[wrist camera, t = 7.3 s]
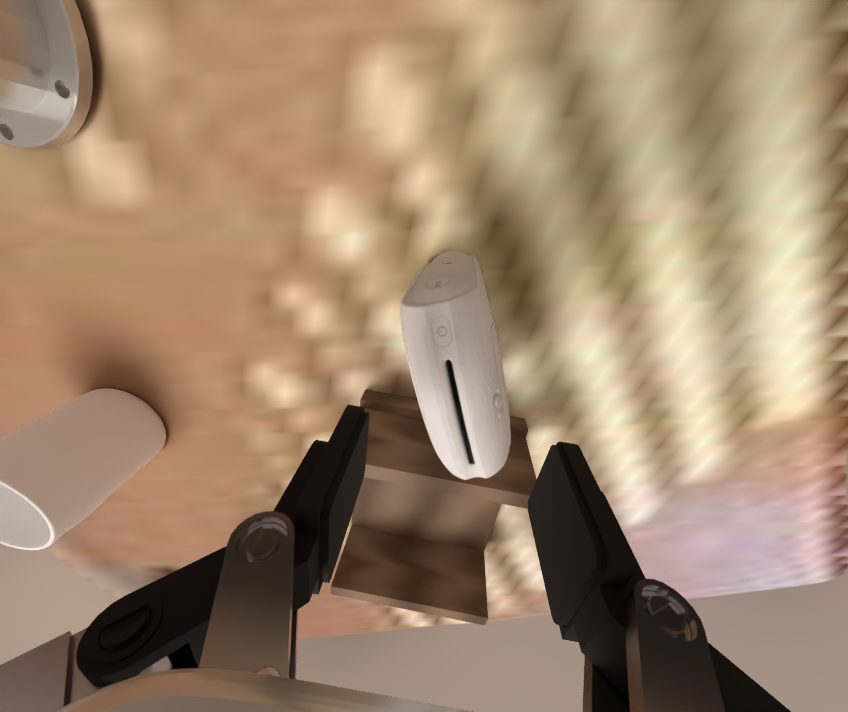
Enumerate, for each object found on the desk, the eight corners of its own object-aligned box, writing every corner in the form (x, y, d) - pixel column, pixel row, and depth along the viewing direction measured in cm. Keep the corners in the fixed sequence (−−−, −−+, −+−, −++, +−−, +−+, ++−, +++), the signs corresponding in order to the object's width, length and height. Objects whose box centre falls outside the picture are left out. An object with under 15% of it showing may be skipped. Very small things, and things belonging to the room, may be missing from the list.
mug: (98, 461, 36) (-33, 555, 27) (80, 373, 31) (-91, 451, 21) (173, 484, 37) (71, 585, 27) (168, 401, 31) (39, 490, 22)
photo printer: (417, 256, 23) (374, 310, 12) (478, 242, 22) (493, 286, 11) (446, 380, 27) (435, 506, 16) (498, 372, 26) (525, 500, 15)
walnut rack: (355, 524, 36) (330, 598, 30) (365, 390, 28) (335, 449, 22) (478, 549, 36) (482, 629, 29) (525, 419, 28) (544, 489, 21)
